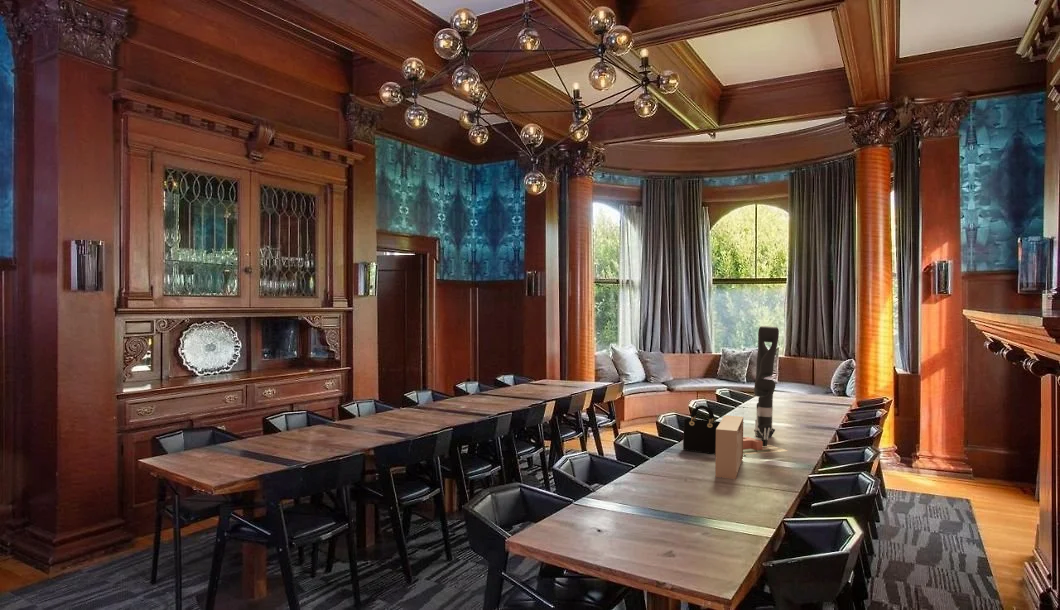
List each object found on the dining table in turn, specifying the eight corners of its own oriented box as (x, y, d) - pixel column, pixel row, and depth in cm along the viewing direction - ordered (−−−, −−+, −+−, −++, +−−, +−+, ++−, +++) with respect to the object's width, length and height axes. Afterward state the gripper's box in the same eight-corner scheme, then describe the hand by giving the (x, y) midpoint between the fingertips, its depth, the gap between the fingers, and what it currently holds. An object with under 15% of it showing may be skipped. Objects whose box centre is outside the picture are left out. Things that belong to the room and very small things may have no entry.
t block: (731, 446, 356) (731, 437, 356) (748, 445, 359) (748, 436, 359) (745, 451, 344) (745, 442, 344) (762, 450, 348) (762, 441, 348)
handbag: (723, 452, 348) (723, 406, 348) (718, 455, 341) (718, 408, 340) (686, 447, 359) (686, 402, 359) (681, 450, 352) (681, 405, 352)
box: (744, 460, 331) (744, 416, 331) (737, 479, 295) (738, 431, 294) (724, 458, 335) (724, 415, 335) (715, 477, 298) (715, 429, 298)
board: (718, 446, 361) (718, 442, 361) (759, 443, 370) (759, 439, 370) (746, 456, 338) (746, 452, 338) (788, 453, 347) (788, 449, 347)
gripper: (770, 413, 361) (769, 443, 362) (750, 414, 357) (750, 445, 357) (779, 415, 354) (778, 446, 355) (759, 416, 350) (759, 448, 350)
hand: (764, 445), depth 356 cm, fingers closed
